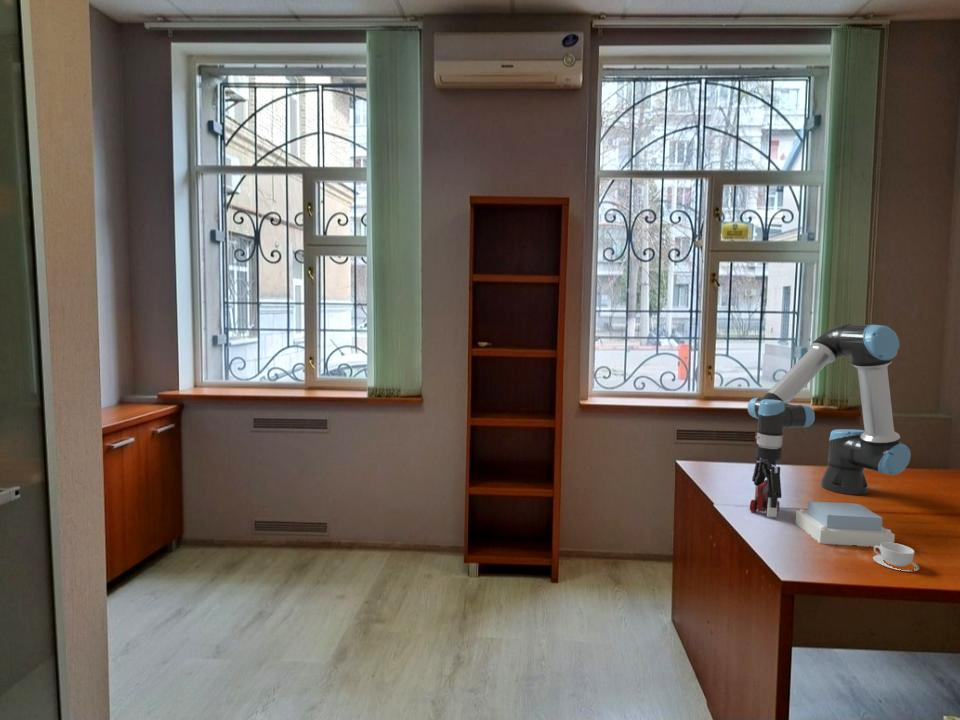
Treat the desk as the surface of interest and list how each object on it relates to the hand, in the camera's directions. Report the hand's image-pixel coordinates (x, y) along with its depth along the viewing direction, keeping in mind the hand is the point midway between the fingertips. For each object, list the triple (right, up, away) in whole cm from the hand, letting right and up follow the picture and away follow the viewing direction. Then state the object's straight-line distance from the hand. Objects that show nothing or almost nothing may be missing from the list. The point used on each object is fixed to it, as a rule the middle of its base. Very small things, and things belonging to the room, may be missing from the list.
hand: (764, 510), depth 189 cm
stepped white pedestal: (+14, -3, -19) cm, 23 cm away
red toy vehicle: (0, -1, 0) cm, 1 cm away
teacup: (+16, -5, -38) cm, 41 cm away
